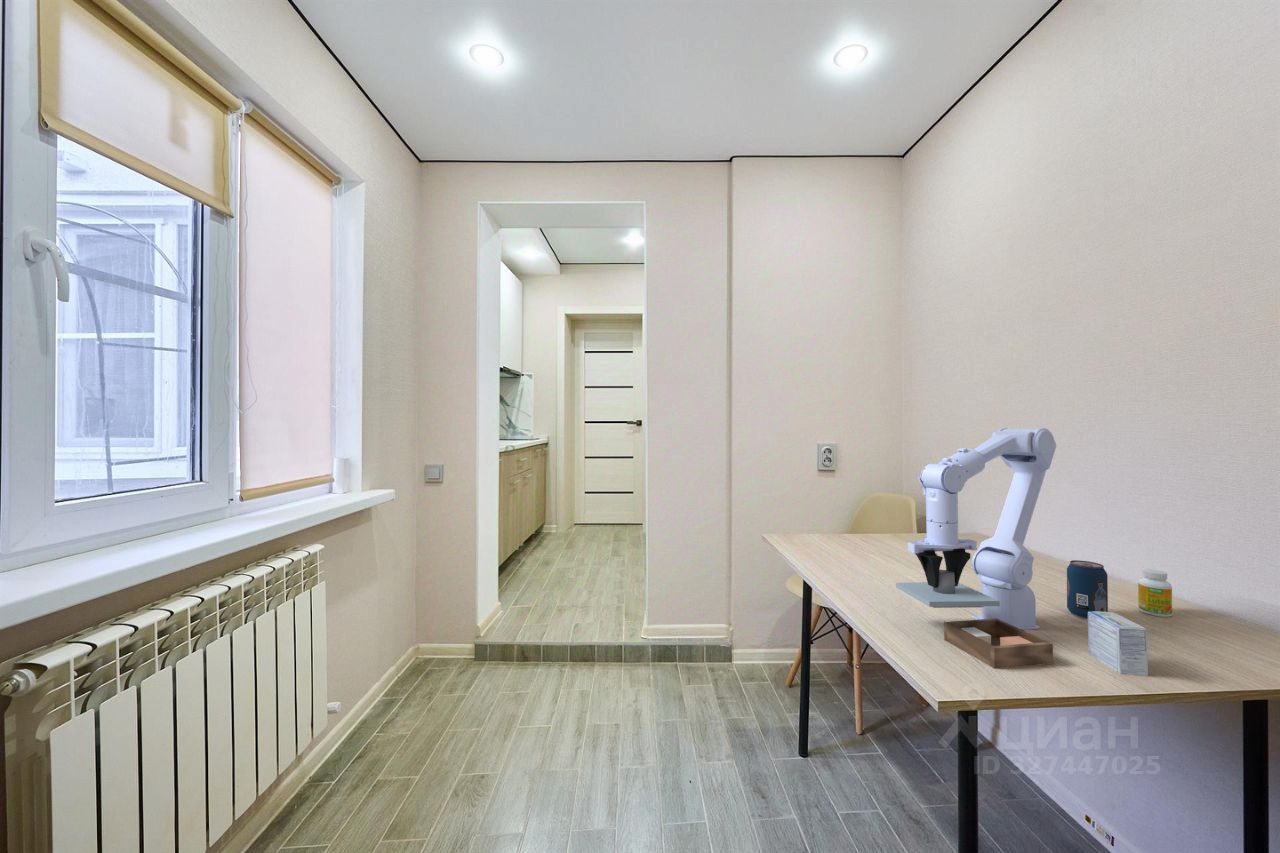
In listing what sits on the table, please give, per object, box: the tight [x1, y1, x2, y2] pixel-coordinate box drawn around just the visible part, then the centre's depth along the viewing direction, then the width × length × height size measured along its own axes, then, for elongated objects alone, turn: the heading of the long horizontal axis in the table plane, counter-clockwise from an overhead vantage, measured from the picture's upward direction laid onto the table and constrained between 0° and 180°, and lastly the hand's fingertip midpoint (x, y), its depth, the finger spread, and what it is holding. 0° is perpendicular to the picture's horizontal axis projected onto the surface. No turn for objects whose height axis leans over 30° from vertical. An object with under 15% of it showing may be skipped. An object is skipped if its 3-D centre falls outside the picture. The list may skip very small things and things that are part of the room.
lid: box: [895, 569, 1000, 609], centre depth 103 cm, size 14×14×6 cm
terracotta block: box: [1000, 636, 1032, 646], centre depth 92 cm, size 4×4×3 cm
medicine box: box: [1087, 611, 1149, 677], centre depth 89 cm, size 8×4×9 cm, turn 168°
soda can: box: [1066, 559, 1109, 621], centre depth 112 cm, size 7×7×12 cm
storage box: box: [943, 618, 1054, 670], centre depth 94 cm, size 12×12×4 cm
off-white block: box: [960, 627, 991, 644], centre depth 97 cm, size 4×4×3 cm
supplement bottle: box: [1137, 568, 1173, 618], centre depth 113 cm, size 5×5×10 cm
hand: (942, 585), depth 103 cm, fingers closed on lid, 4 cm apart
